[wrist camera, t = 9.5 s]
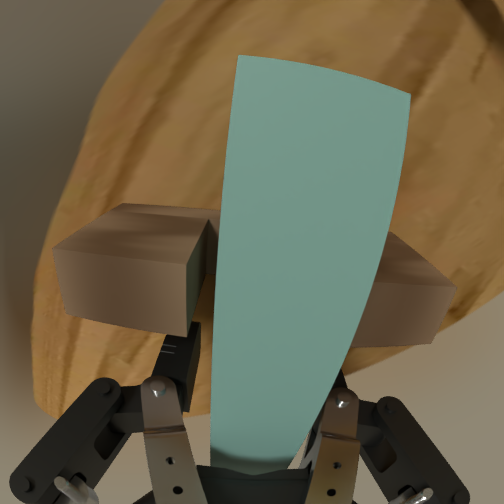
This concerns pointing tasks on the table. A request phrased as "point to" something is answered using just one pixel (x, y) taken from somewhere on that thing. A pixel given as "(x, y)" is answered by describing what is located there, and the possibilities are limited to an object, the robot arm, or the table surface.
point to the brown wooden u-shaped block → (205, 262)
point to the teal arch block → (296, 248)
